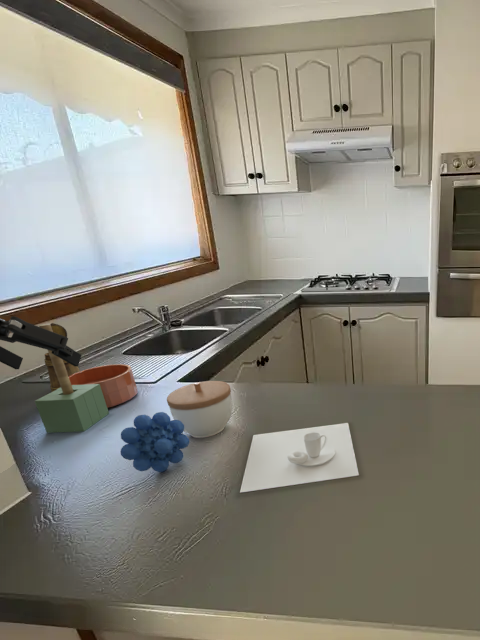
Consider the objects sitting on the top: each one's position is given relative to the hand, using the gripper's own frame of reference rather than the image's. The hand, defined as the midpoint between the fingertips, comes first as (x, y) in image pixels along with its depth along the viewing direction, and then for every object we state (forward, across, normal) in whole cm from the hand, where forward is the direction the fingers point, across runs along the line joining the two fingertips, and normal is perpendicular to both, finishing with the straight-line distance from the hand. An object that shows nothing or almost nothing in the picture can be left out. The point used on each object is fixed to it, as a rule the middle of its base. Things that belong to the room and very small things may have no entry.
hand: (48, 362), depth 92 cm
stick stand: (+13, 0, +10) cm, 16 cm away
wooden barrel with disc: (+31, +21, -8) cm, 38 cm away
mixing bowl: (+22, +2, 0) cm, 22 cm away
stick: (+13, 0, +10) cm, 16 cm away
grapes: (-2, -33, +25) cm, 42 cm away
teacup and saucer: (+1, -57, +22) cm, 61 cm away
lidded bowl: (+9, -34, +14) cm, 38 cm away
